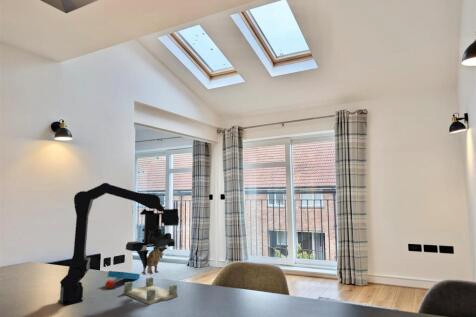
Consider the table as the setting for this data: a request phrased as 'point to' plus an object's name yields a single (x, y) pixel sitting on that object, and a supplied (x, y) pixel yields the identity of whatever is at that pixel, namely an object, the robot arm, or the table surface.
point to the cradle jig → (150, 292)
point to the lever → (119, 277)
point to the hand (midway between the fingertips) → (150, 266)
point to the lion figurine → (152, 261)
